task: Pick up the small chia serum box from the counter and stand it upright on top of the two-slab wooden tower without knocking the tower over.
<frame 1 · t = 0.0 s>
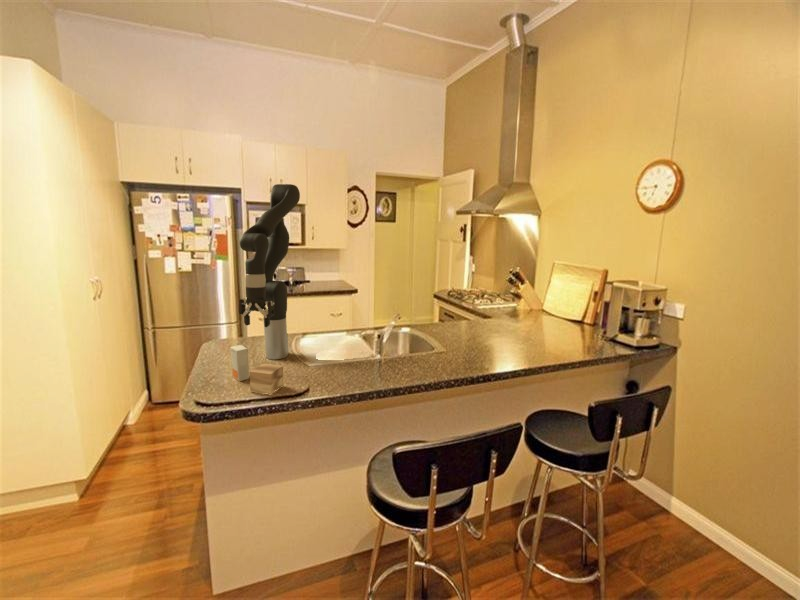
hand: (257, 325, 157), 17 cm above the countertop, tool pointing down, fingers open, 8 cm apart
tan square block: (267, 379, 140), point 4 cm above the countertop, touching block lower
block lower: (267, 390, 141), on the countertop, touching tan square block
skincare box: (240, 378, 150), on the countertop
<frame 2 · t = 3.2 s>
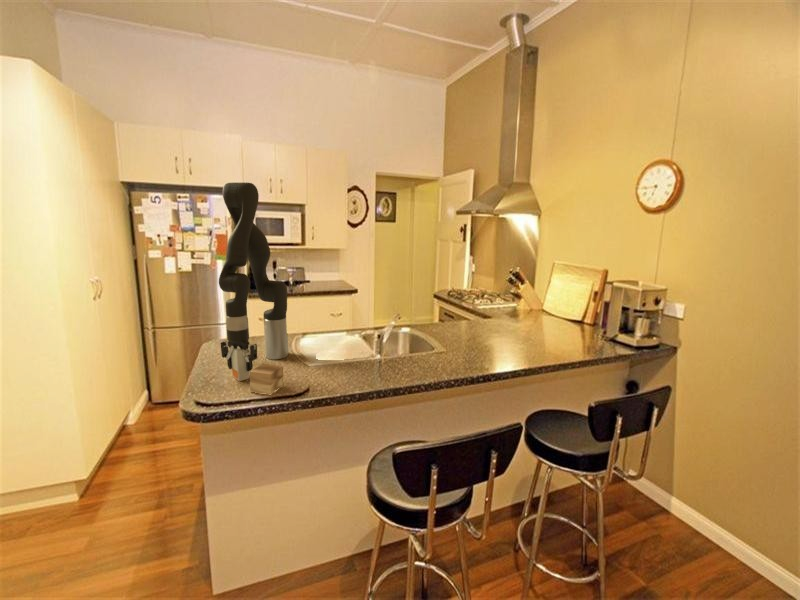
hand: (240, 369, 149), 3 cm above the countertop, tool pointing down, fingers closed on skincare box, 7 cm apart
tan square block: (267, 379, 140), point 4 cm above the countertop
block lower: (267, 390, 140), on the countertop
skincare box: (240, 378, 150), on the countertop, touching gripper
when the fingers open (12 cm above the countertop, at t = 8.9 s): skincare box drops 1 cm, resting on tan square block.
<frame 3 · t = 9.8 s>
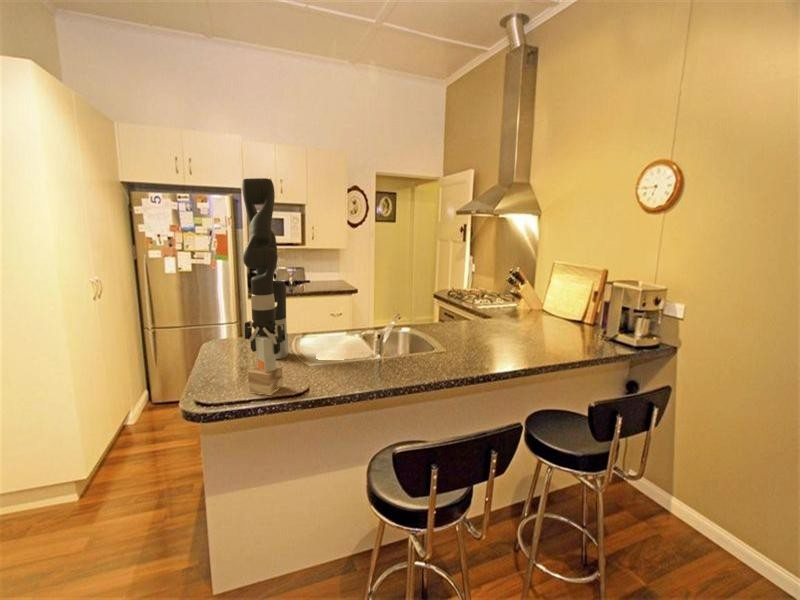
hand: (265, 352, 138), 14 cm above the countertop, tool pointing down, fingers open, 8 cm apart
tan square block: (265, 379, 139), point 4 cm above the countertop, touching block lower, skincare box
block lower: (266, 390, 140), on the countertop, touching tan square block
skincare box: (266, 369, 139), point 7 cm above the countertop, touching tan square block
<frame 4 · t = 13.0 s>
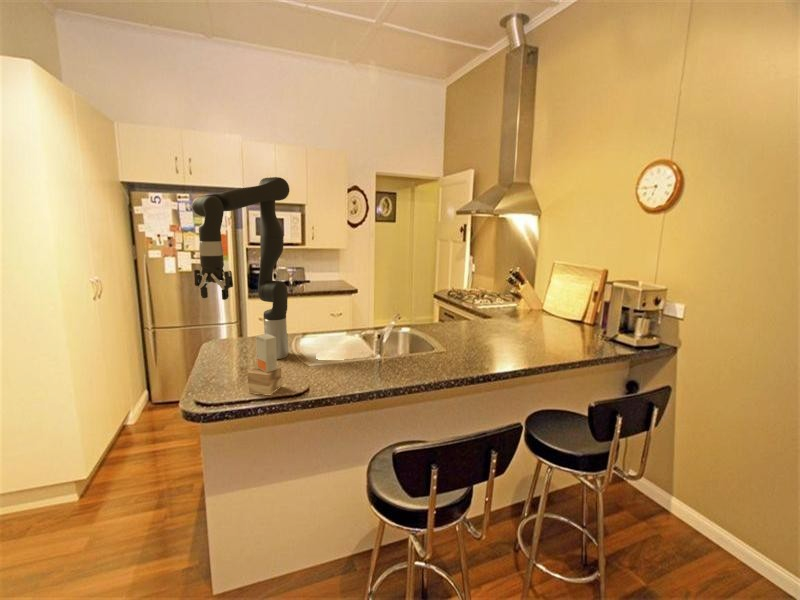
hand: (214, 298, 145), 30 cm above the countertop, tool pointing down, fingers open, 8 cm apart
tan square block: (264, 380, 139), point 4 cm above the countertop, touching block lower
skincare box: (266, 369, 139), point 8 cm above the countertop
everything else where it was.
at the end: skincare box inside the target area on the tan square block (0.9 cm from its centre), point 4.0 cm above the tan square block's base; skincare box tilted 3°; tan square block tilted 0° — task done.
